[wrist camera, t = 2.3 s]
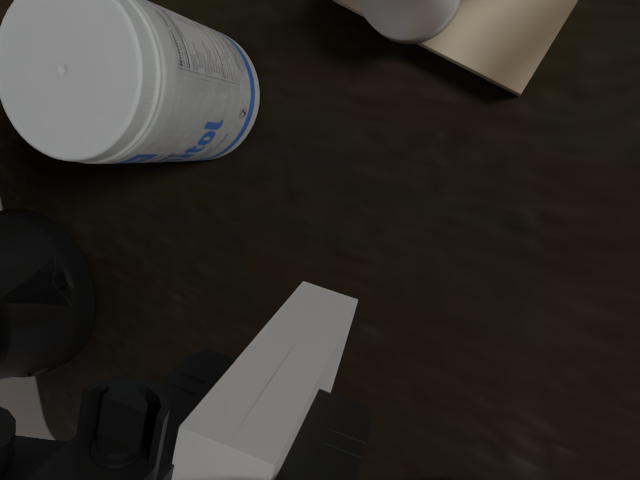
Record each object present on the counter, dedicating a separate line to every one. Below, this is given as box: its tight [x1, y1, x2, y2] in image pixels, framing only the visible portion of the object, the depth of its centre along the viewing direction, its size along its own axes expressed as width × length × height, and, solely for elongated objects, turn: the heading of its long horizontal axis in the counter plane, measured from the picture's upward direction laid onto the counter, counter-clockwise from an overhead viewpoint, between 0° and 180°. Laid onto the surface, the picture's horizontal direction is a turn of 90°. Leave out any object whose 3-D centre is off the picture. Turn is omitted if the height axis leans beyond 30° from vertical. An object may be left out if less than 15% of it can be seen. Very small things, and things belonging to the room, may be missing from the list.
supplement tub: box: [0, 0, 260, 164], centre depth 34 cm, size 10×10×15 cm
